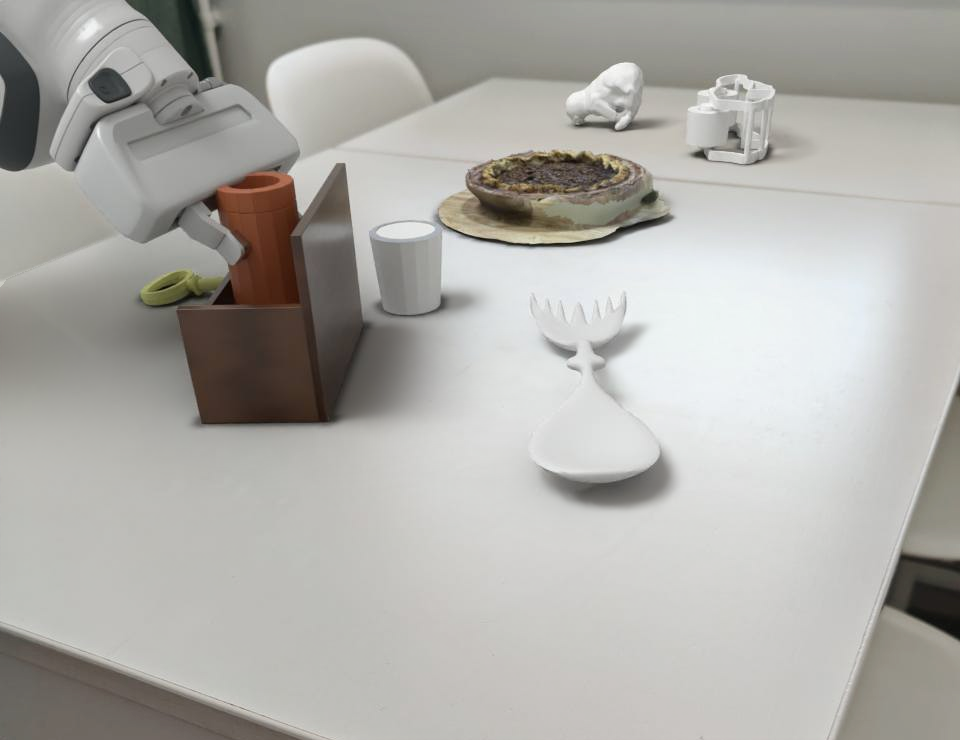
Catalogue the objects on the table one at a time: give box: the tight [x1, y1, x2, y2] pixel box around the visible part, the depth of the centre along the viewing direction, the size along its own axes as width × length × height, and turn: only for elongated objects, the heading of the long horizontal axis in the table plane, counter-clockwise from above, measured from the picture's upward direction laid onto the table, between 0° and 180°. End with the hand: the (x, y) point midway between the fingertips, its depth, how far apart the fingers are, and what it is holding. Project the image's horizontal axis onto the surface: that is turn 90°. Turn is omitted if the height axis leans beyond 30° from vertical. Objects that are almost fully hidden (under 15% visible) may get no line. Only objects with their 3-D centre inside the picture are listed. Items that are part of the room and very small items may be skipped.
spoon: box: [528, 290, 661, 484], centre depth 78 cm, size 9×32×4 cm, turn 178°
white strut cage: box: [684, 73, 776, 165], centre depth 139 cm, size 20×11×7 cm, turn 164°
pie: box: [438, 149, 671, 245], centre depth 119 cm, size 28×27×5 cm
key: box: [140, 268, 225, 306], centre depth 101 cm, size 7×12×2 cm, turn 96°
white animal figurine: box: [565, 61, 645, 132], centre depth 152 cm, size 6×8×12 cm
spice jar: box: [215, 172, 300, 305], centre depth 80 cm, size 6×6×10 cm
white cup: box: [368, 219, 443, 316], centre depth 95 cm, size 7×7×7 cm
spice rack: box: [175, 162, 364, 424], centre depth 81 cm, size 10×20×14 cm, turn 177°
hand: (270, 243), depth 79 cm, fingers closed on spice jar, 6 cm apart
